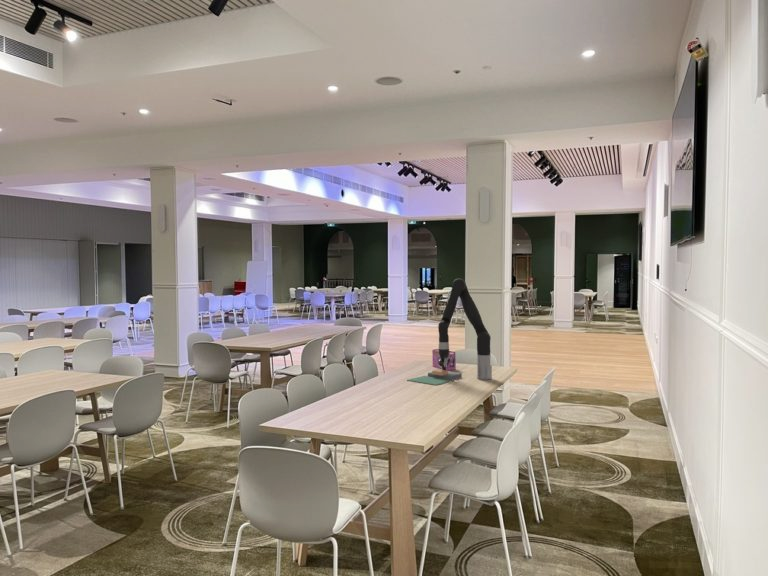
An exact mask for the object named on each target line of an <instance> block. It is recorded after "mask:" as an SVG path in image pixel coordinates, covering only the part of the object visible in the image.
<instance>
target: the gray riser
mask: <svg viewBox="0 0 768 576" xmlns="http://www.w3.org/2000/svg"><path fill="white" fill-rule="evenodd" d="M447 371H448V374H447V375H443V376H441V375H434V374H432V371H429V372H427V376H429V377H436V378H443V379H449V380H457V379H461V378H462V377H463V375H462V373H461V372H455V371H450V370H447Z"/></svg>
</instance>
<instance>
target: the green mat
mask: <svg viewBox="0 0 768 576" xmlns="http://www.w3.org/2000/svg"><path fill="white" fill-rule="evenodd" d="M454 380H455V379H454ZM454 380H449V379H443V378H436V377H429V376H428V375H422V376H418V377H417V376H416V377H413V378H410V379H406V381H407V382H414V383H419V384H424V385H425V384H426V385H432V386H440V385H444V384H447V383H451V382H454Z"/></svg>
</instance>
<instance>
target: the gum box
mask: <svg viewBox="0 0 768 576" xmlns="http://www.w3.org/2000/svg"><path fill="white" fill-rule="evenodd" d="M431 354H432V367H434V368H438V369H440V370H442V366H440V365H439V363H438V360H439V359H440V355H439V348H437V349H432V353H431ZM456 354H457V353H456V351H451V350H449V355H448V358H450V361H449V364H448V366H446V371H453V370H456V369H457V367H456V366H457V365H456V364H457V363H456V362H457V360H456V359H457V358H456V357H457V356H456Z"/></svg>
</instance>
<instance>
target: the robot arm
mask: <svg viewBox="0 0 768 576" xmlns="http://www.w3.org/2000/svg"><path fill="white" fill-rule="evenodd" d="M451 285H452V286H451V291H450V295H449V298H448V299H447V302H446V305H445V308H444V310H443V312H442V318H441V319H440V322H439V323H438V325H437V326H438V327H437V328H438V349H439V355H440V359H439V360H438V363H439V365H440V366H442V369H441V370H446V366H448V364H449V361H450V358H448V355H449V351H450V342H449V341H450V338H449V327H450V324H451V323H452V322H451V321H452V319H453V318H452V317H454V314H455V310H456V307H457V303H458V300H459V299H460V302H461V305H462V308H463V311H464V313H465V316H466V318H467V319H468V321H469V324H471V326H472V327H473V328H474V329H473V330H474V331H475V334H476V351H477V352H476V353H477V359H476V360H477V361H476V363H477V379H478V380H483V381H484V380H485V381H488V380H492V379H493V371H492V370H493V367H492V366H493V365H491V340H492V339H491V335H490V333H489V332H488V330H487V328H486V327H485V325H484V322H483V320H482V317H481V314H480V311H479V308H478V307H477V305H476V303H475V302H474V300H473V298H472V296H471V295H470V292H469V289H468V287H467V283H466V281H465V280H464V279H463V278H456V279H454V280H453V281H452V284H451ZM446 371H447V370H446Z"/></svg>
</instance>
